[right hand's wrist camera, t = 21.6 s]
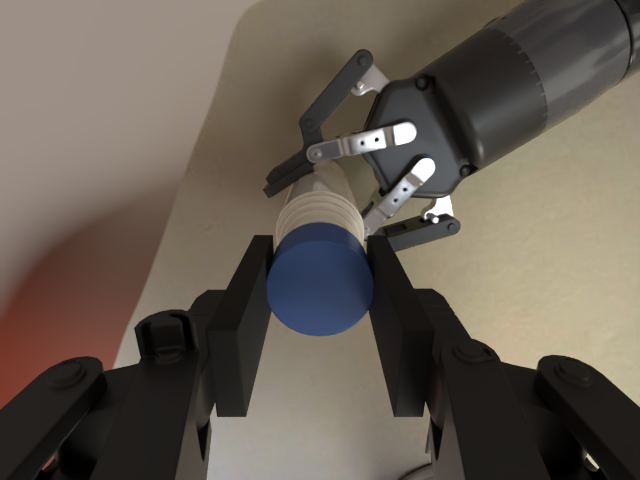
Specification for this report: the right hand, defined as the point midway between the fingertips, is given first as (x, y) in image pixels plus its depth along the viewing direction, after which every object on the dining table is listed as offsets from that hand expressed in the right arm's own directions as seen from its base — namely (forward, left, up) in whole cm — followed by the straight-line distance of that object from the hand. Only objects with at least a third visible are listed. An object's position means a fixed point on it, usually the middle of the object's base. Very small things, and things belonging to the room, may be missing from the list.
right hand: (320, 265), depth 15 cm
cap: (0, 0, +2) cm, 2 cm away
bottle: (0, 0, -17) cm, 17 cm away
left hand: (+1, +2, -11) cm, 11 cm away
